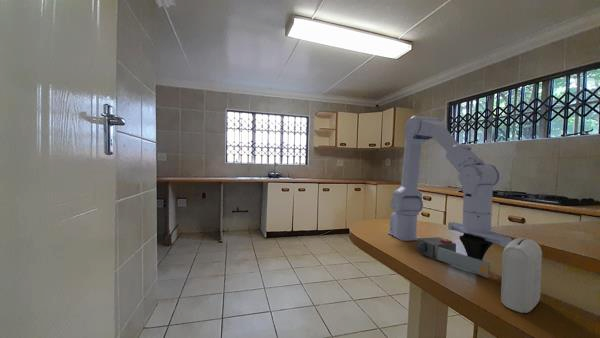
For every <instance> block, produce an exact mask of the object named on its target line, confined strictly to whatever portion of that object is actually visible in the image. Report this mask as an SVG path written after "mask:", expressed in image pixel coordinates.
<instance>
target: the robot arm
mask: <svg viewBox="0 0 600 338" xmlns="http://www.w3.org/2000/svg"><path fill="white" fill-rule="evenodd" d="M404 127H405V128H404V148H403V149H404V151H403V158H402V159H403V160H402V173H401V183H400V187H398V188H397V189H395V190H394V191H393V194H392V197H391V200H390V208H391V209H392V211H393V212H391V215H390V218H389V232H388V231H387V234H388V233H389V234H388V235H390V234H391V236H392V235H393V237H395V238H396V239H398V240H400V241H403V242H406V241H407V242H408V241H418V238H420V237H419V236H417V233H418V232H417V229H418V228H417V227H418V215H420V213H421V211H422V210H423V208H424V202H423V193H422V192H421V191H420V190H419V189H418V184H419V183H418V182H419V180H418V179H419V172H420V163H421V162H420V161H421V154H422V153H421V152H422V145H424V143H426V142H428V141H430V140H432V139H433V140H435V142H437V143H438V144H439V146H440V147H442V149H444V151H446V152H445V158H446V159H447V160H448V162H449V163H450V164H451V165H452V166H453V167H454V169H455V170H456V171H457V173H458V175H457V176H458V177H457V178H458V181H459V183H460V185H461V191H462V193H463V202H462V203H463V204H462V223H459V222H455V221H452V222H450V221H449V222H447V223H448V224H447V230H450V231H455V232H458V233H462V235H459V236H458V237H459V240H460V242H461V244H462V245H463V248H464V250H465V252H466V253H465V254H466V256H469V257H472V258H476V259H479V260H482V261H483V258H484V257H485V254H486V252H487V251H488V250H489V249H490V247H491V246H493V244H496V245H499V246H501V247H504V248H505V247H506V245H507V244H508V243H509V242H511V241H512V238H511V237H509V236H507V235H502V234H500V233H498V232H496V231H495V232H494V231H492V214H493V213H492V211H493V189H494V188H493V187H495V186H496V185H497V184H498V182H499V181H500V177H501V176H500V171H499V170H498V169H497V167H496V165H494V164H489V163H488V164H487V163H485V162H484V159H482V158H481V157H479V156H477V154H476V153H475V152H474V151H473V150H472V149H473V148H472V146H471V145H469V144H464V143H458V141H457V140H456V138H455V137H454V136H453V135H452V134H451V132H450V131H449V130H448V129H447V128H446V122H445V121H443V120H442V119H441V117H429V116H428V117H427V116H418V115H412V116H411V117H410V118H409V119H408V120H407V121H406V123H405V126H404Z"/></svg>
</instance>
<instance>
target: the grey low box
mask: <svg viewBox="0 0 600 338" xmlns="http://www.w3.org/2000/svg"><path fill="white" fill-rule="evenodd" d="M416 245H417V246H416V247H417V249H416V251H417V252H418V253H420V254H422V255H424V256H425V257H427V258H430V259H432V260H435V246H436V245H437V246H439V247H441V248H444V249H447V250H450V251H453V252H457V243H455V242H453V240H450V239H447V238H446V239H444V238H442V237H439V236H438V237H437V236H436V237H419V238H418V240H417V244H416Z"/></svg>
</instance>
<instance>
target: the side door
mask: <svg viewBox="0 0 600 338" xmlns="http://www.w3.org/2000/svg"><path fill="white" fill-rule="evenodd" d="M434 260H436V261H441V262H444V263H445V264H449V265H452V266H454V267H458V268H460V269H463V270H465V271H469V272H471V273H474V274H476V275H480V276H482V277H484V278H487V279H489V278H490V272H491V271H490V266H491V265H490V262H489V261H484V260H483V259H482V260H479V259H476V258H472V257H469V256H467V254H463V253H460V252H457V251H456V252H453V251H450V250H447V249H444V248H441V247H439V246H437V245H436V246H435V259H434Z"/></svg>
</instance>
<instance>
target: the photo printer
mask: <svg viewBox="0 0 600 338" xmlns="http://www.w3.org/2000/svg"><path fill="white" fill-rule="evenodd" d="M542 261H543V251H542V248H541V246H540V244H538V242H536V241H535V240H533V239H531V238H525V237H518V238H514V239H513V240H512V239H511V242H509V243H508V244H507V245H506V247H504V249H503V251H502V269H501V287H500V288H501V289H500V294H501V295H500V299H501V300H500V302H501V304H503V305H504V307H506V308H508V309H510V310H512V311H514V312H517V313H521V314H523V313H526V314H527V313H530V312H531V311H532V310H533V309H534V308H535V307H536V306H537V304H538V303H539V302H540V300H541V289H542V287H541V285H542V284H541V283H542Z"/></svg>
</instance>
